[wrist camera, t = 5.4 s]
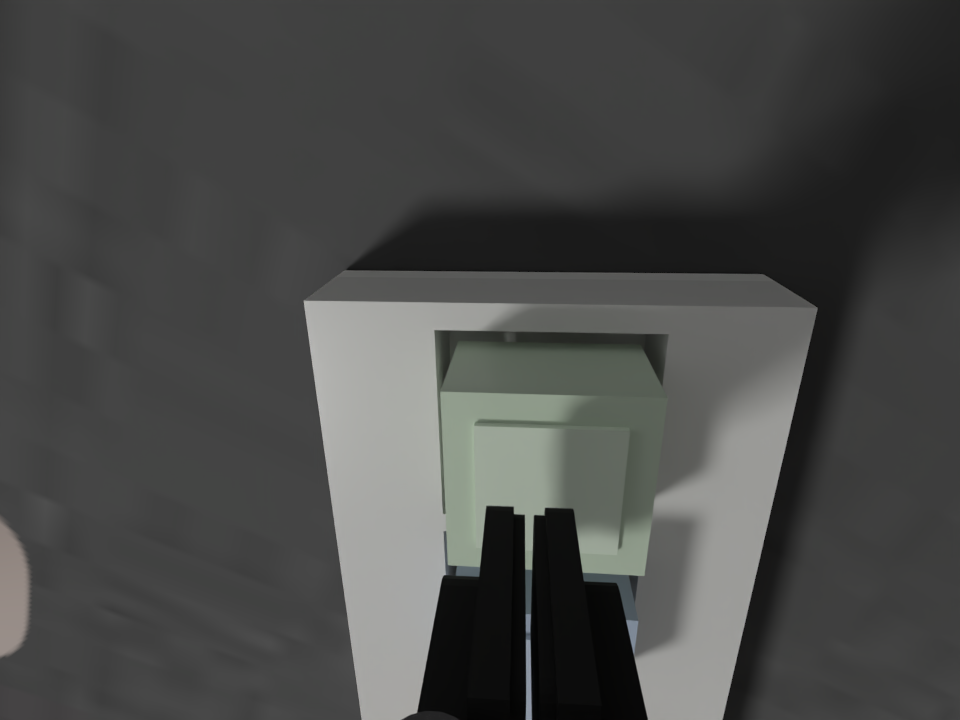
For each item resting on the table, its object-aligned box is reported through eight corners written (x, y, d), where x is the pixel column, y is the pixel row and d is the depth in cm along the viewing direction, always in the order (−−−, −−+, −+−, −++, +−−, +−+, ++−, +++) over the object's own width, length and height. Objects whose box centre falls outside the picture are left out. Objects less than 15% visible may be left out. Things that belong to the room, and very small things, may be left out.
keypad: (763, 274, 15) (818, 307, 12) (661, 817, 25) (678, 909, 22) (344, 270, 16) (303, 300, 14) (400, 793, 26) (383, 878, 23)
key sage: (640, 344, 14) (669, 401, 11) (624, 497, 16) (645, 580, 13) (457, 340, 14) (439, 394, 11) (462, 490, 16) (447, 569, 13)
